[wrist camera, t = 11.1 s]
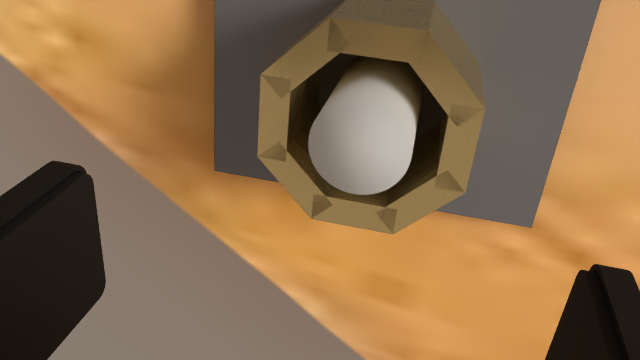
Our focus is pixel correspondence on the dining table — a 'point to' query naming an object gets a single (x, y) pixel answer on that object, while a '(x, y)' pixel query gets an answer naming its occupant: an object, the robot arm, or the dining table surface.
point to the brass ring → (429, 148)
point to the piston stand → (411, 98)
